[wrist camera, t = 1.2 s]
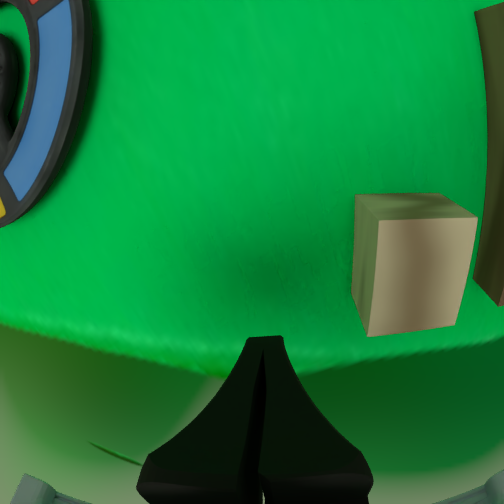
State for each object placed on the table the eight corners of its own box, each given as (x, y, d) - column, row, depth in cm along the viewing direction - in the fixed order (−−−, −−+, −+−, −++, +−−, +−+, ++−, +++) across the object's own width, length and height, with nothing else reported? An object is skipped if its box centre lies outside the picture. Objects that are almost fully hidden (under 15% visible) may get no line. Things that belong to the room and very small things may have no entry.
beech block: (438, 192, 18) (477, 217, 14) (426, 285, 21) (454, 324, 17) (354, 193, 19) (378, 220, 14) (350, 291, 22) (367, 336, 17)
